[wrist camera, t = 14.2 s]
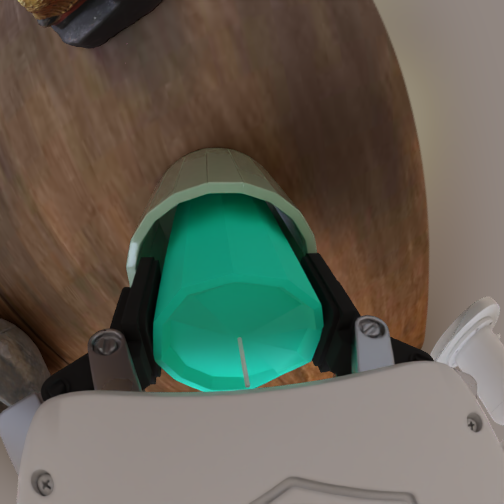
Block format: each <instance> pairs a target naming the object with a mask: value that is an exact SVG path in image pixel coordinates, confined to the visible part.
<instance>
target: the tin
mask: <svg viewBox="0 0 504 504" xmlns="http://www.w3.org/2000/svg"><path fill="white" fill-rule="evenodd" d="M209 193H242V194H246V195H249V196H252V197H255V198H258V199H261V200H264V201H265V202H266V203H267V205H268V207H269V209H270V210H271V212H272V214H273V216H274V218H275V219H276V221H277V223H278V225H279V227H280V228H281V230H282V232H283V234H284V236H285V237H286V239H287V241H288V243H289V245H290V247H291V248H292V250H293V252H294V254H295V256H296V258H297V259H298V261H299V263H300V261H301V258H302V257H305V254H306V253H317V248H316V242H315V237H314V234H313V232H312V230H311V229H310V227H309V225H308V224H307V222H306V220H305V218H304V217H303V215H302V213H301V212H300V211H299V209H298V208H297V207H296V206H295V205H294V203H293V202H292V201H291V200H290V198H289V197H288V196H287V195H286V194H285V192H284V191H283V190H282V189H281V187H280V186H279V185H278V184H277V183H276V182H275V180H274V179H273V178H272V177H271V176H270V174H269V173H268V172H267V171H266V170H265V169H264V168H263V167H262V166H261V165H260V164H259V163H257V162H256V161H255V160H254V159H252V158H251V157H249V156H247V155H245V154H243V153H241V152H238V151H235V150H232V149H227V148H207V149H202V150H198V151H195V152H192V153H190V154H188V155H186V156H184V157H182V158H181V159H179V160H178V161H176V162H175V163H174V164H173V165H172V166H171V167H170V168H169V169H168V170H167V171H166V172H165V174H164V175H163V177H162V178H161V180H160V181H159V183H158V184H157V186H156V188H155V190H154V192H153V194H152V196H151V198H150V200H149V202H148V204H147V206H146V208H145V210H144V212H143V214H142V216H141V218H140V221H139V223H138V225H137V227H136V229H135V231H134V234H133V236H132V238H131V241H130V246H129V251H128V257H127V263H126V269H127V274H128V279H129V284H130V287H131V285H132V282H133V279H134V276H135V273H136V270H137V267H138V264H139V261H140V258H141V257H154V258H155V260H159V263H160V271H161V276H162V271H163V266H164V261H165V256H166V252H167V247H168V243H169V238H170V234H171V229H172V225H173V221H174V217H175V213H176V209H177V205H178V204H179V203H182V202H185V201H187V200H190V199H193V198H197V197H200V196H203V195H206V194H209Z"/></svg>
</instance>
